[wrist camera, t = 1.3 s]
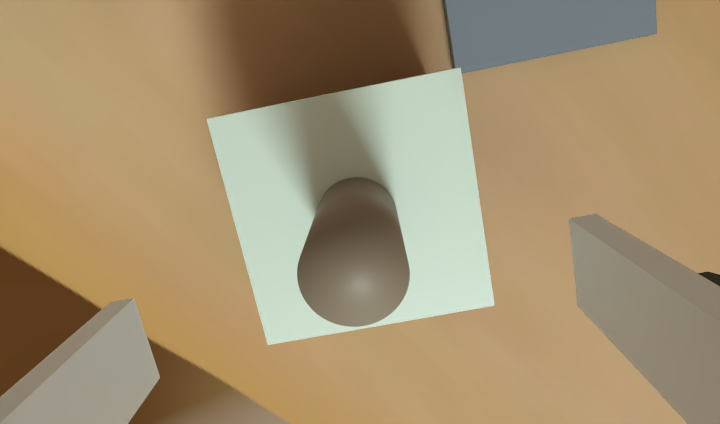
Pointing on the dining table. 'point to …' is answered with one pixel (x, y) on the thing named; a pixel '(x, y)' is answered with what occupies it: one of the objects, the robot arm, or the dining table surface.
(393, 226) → the lid
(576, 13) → the plate
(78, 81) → the dining table surface
